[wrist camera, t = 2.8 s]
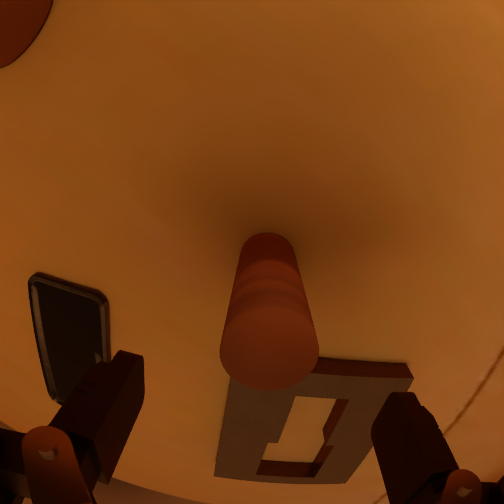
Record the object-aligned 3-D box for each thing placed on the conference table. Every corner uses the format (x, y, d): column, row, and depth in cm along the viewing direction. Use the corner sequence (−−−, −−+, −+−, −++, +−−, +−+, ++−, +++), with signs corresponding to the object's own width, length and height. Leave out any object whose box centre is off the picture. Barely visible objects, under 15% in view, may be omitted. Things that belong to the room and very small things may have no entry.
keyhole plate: (236, 346, 22) (233, 363, 20) (405, 363, 23) (414, 378, 21) (215, 461, 27) (213, 476, 26) (342, 469, 28) (345, 483, 26)
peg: (244, 228, 20) (226, 304, 10) (299, 237, 20) (330, 320, 10) (236, 279, 21) (214, 382, 11) (288, 288, 21) (304, 394, 11)
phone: (50, 400, 25) (26, 272, 21) (54, 393, 26) (34, 267, 22) (115, 426, 25) (105, 298, 21) (118, 418, 27) (112, 291, 22)
